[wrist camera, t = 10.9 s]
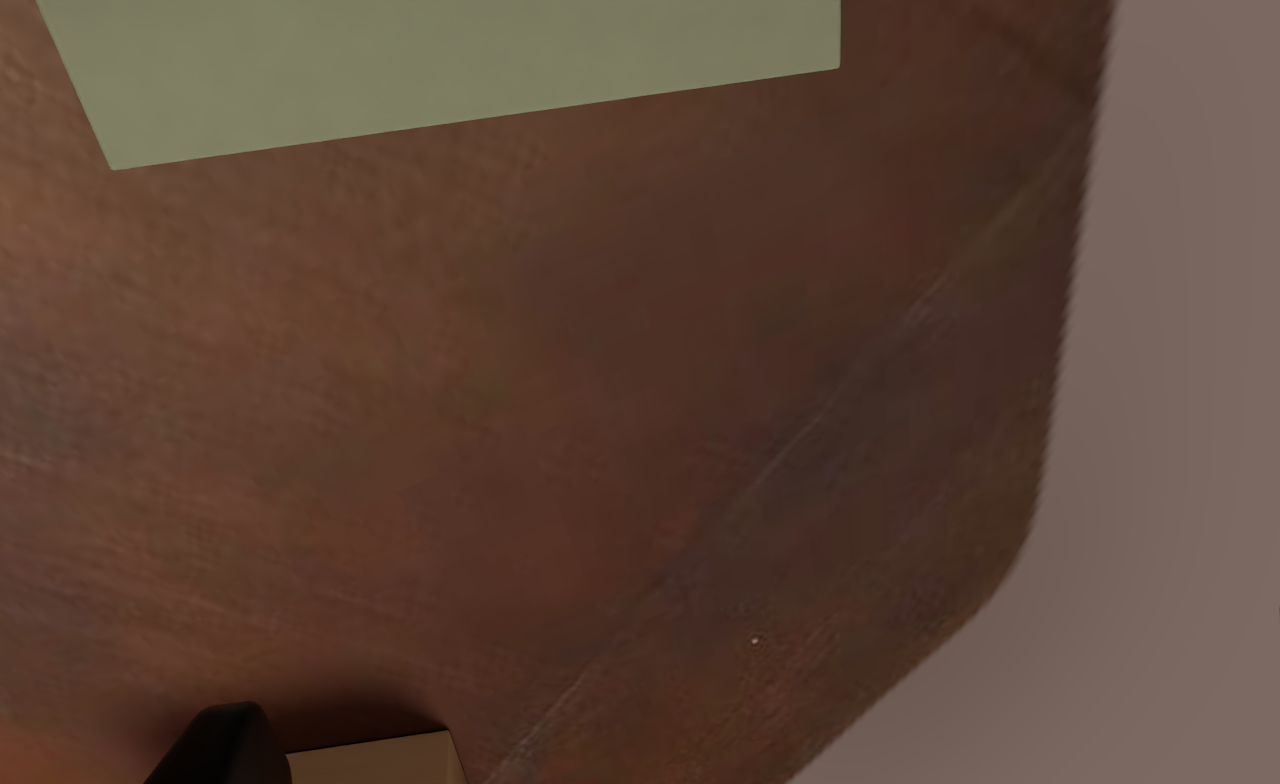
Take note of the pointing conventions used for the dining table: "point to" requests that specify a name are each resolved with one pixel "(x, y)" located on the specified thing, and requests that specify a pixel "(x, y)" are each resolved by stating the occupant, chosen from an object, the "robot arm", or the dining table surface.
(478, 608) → the dining table surface
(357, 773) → the stand
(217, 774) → the robot arm
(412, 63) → the base pad
